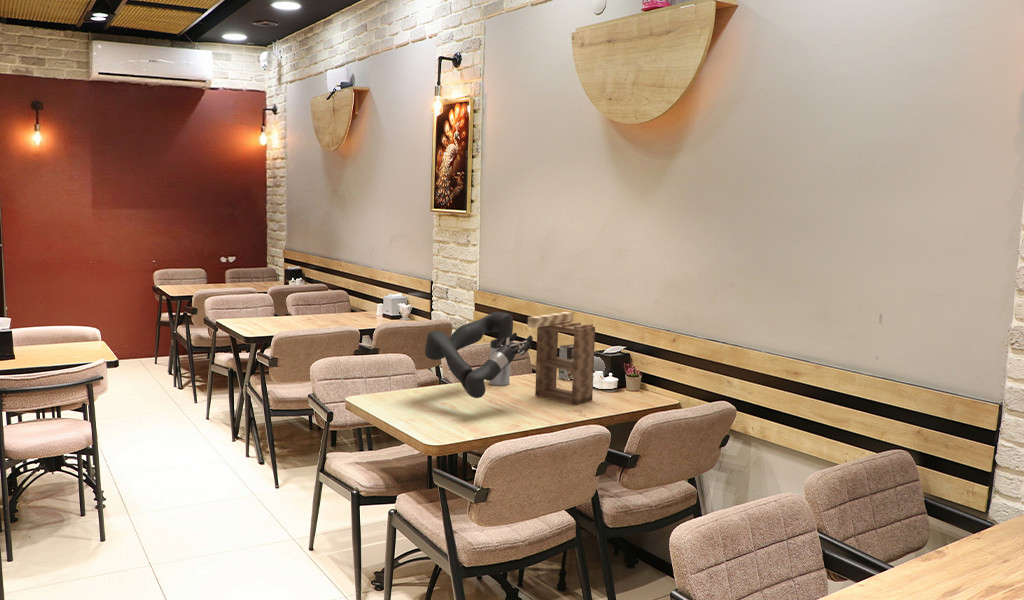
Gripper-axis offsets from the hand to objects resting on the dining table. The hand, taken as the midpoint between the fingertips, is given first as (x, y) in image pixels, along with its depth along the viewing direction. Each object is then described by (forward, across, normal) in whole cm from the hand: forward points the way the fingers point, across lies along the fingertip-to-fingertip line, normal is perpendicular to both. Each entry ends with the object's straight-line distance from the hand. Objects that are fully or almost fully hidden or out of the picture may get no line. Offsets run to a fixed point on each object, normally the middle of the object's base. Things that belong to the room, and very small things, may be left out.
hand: (523, 335), depth 329 cm
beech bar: (+17, 0, +6) cm, 18 cm away
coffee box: (+31, +15, +52) cm, 62 cm away
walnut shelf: (+3, -6, +35) cm, 36 cm away
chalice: (+29, -7, +50) cm, 59 cm away
